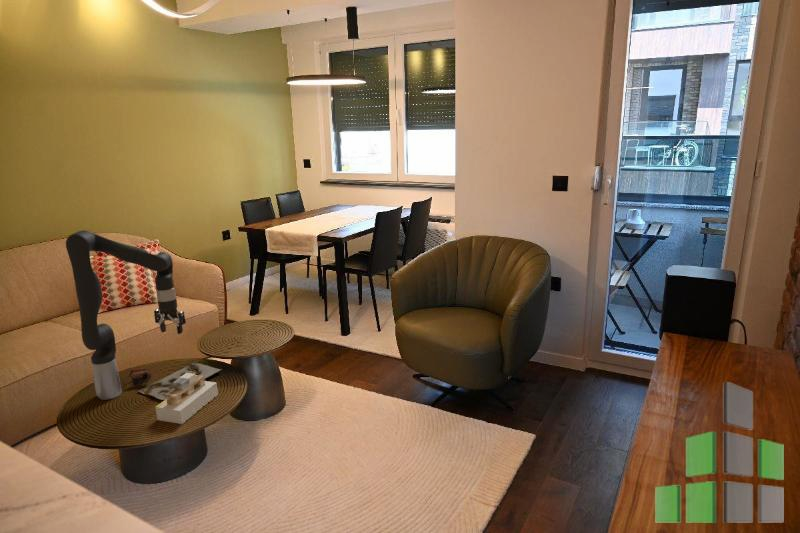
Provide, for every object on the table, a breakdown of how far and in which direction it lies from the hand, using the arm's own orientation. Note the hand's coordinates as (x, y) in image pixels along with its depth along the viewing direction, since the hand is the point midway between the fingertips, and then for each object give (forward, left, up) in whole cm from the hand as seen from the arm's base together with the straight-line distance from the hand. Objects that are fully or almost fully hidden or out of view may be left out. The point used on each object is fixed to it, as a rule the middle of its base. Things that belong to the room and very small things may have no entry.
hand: (172, 332), depth 223 cm
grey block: (+14, -14, -18) cm, 27 cm away
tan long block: (+14, -12, -22) cm, 29 cm away
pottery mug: (-22, +1, -28) cm, 36 cm away
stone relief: (-4, +6, -29) cm, 30 cm away
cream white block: (+14, -10, -18) cm, 24 cm away
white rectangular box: (+14, -12, -28) cm, 34 cm away
